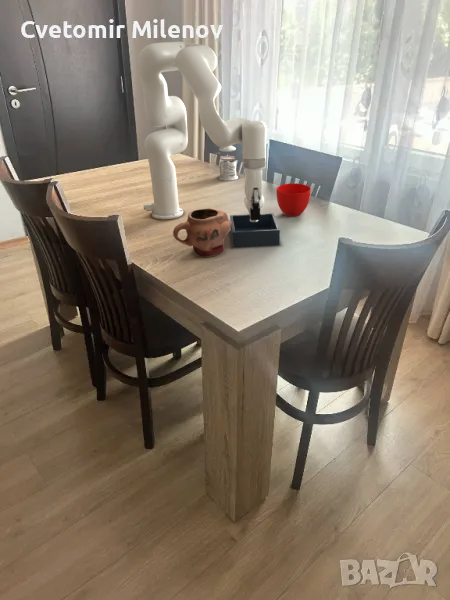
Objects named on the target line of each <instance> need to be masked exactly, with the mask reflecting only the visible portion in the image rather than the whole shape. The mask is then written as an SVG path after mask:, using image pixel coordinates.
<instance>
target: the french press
mask: <svg viewBox="0 0 450 600" xmlns="http://www.w3.org/2000/svg"><path fill="white" fill-rule="evenodd" d="M218 150H219V151H217V152H216V153H215V154H214V156H213V163H214V166H217V168H218V169H219V176H218V179H219V180H221V181H235V180H237V179H239V176H238V175H237V160H236V157H235V156H234V155H229V152H235V151H236V150H237V148H236V147H235V146H234V145H231V146H229V147H224V148H223V147H219V148H218ZM221 152H227V155H223V156H221V157H220V160H219V165H217V163H216V160H215V158H216V155H218V154H219V156H220V155H221Z"/></svg>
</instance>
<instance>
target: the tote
mask: <svg viewBox="0 0 450 600" xmlns="http://www.w3.org/2000/svg"><path fill="white" fill-rule="evenodd" d="M229 220H231V222H232V226H231V228H230V237H231V242H232V248H233V249H236V248H237V249H239V248H240V249H241V248H258V247H279V246H280V244H281V243H280V241H281V229H280V226H279V223H278V221H277V219H276V216H275V214H274V212H269V213H260V220H258V222H256V223H252V222H251V221H250V216H249V213H248V214H231V215H230V216H229Z"/></svg>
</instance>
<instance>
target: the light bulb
mask: <svg viewBox="0 0 450 600" xmlns="http://www.w3.org/2000/svg"><path fill="white" fill-rule="evenodd" d="M253 193H254V191H253ZM252 199H254V198H252ZM243 203H244V206H245V208H246V209H247V211H248V214H249V216H250V208H251V200H249V201H248V200H247V199H246V196H245V197H244V201H243ZM253 203H254V201H253ZM264 205H265V197H264V196H263V194H262V199H261V200H260V211H262V208H263V206H264ZM250 221H251V222H252V223H256V222H258V220H251V219H250Z"/></svg>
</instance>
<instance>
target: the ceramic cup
mask: <svg viewBox="0 0 450 600" xmlns="http://www.w3.org/2000/svg"><path fill="white" fill-rule="evenodd" d="M311 192H312V188H311V187H310V186H309V185H307V184H304V183H296V182H295V183H294V182H293V183H284V184H280V185H278V186H277V187H276V202H277V205H278V207H279V209H280V211H281V212H282V213H283V214H284V215H285V216H287V217H298V216H301V215H302V213H303V212H304V211H305V210H306V209H307V208H308V206H309V202H310V199H311V194H312V193H311Z"/></svg>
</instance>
